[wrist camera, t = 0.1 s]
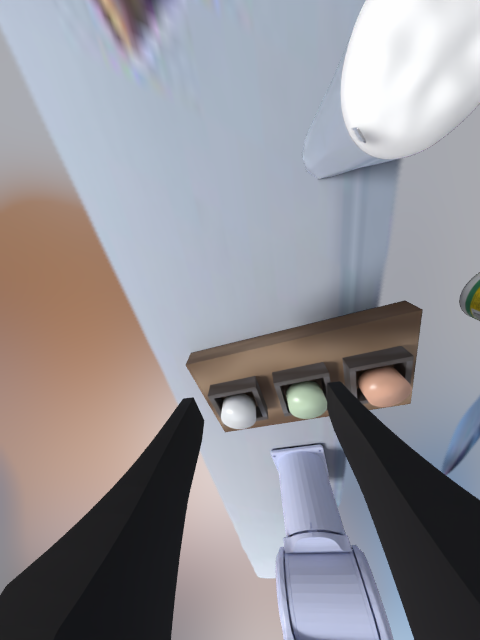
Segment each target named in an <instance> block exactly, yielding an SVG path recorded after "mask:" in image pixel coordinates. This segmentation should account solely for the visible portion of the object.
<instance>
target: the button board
mask: <svg viewBox="0 0 480 640" xmlns="http://www.w3.org/2000/svg"><path fill="white" fill-rule="evenodd" d="M421 317H422V309H420V308H418V307H416V306H414V305H413V304H411V303H409V302H407V301H401V302H397V303H393V304H389V305H385V306H381V307H377V308H373V309H369V310H365V311H360V312H356V313H352V314H348V315H344V316H340V317H336V318H332V319H328V320H324V321H320V322H316V323H312V324H308V325H303V326H299V327H295V328H291V329H287V330H283V331H279V332H275V333H271V334H267V335H263V336H259V337H255V338H251V339H247V340H242V341H238V342H234V343H230V344H226V345H222V346H218V347H214V348H210V349H206V350H202V351H198V352H194V353H191V354H190V356H189V359H188V361H187V363H186V367H187V368H188V370H189V372H190V373H191V375H192V377H193V378H194V380H195V382H196V383H197V385H198V387H199V389H200V390H201V392H202V394H203V395H204V397H205V399H206V400H207V402H208V404H209V406H210V407H211V409H212V411H213V412H214V414H215V416H216V417H217V419H218V421H219V423H220V424H221V426H222V428H223V429H224V431H225V432H230V431H236V430H243V429H234V428H230V427H228V426H226V425H225V424H224V423H223V422H222V420H221V413H222V406H223V401H224V399H225V398H226V397H227V396H230V395H235V394H240V393H241V394H246V395H248V396H250V397H251V398H253V400H254V401H255V403H256V422H255V423H254V424H253V425H252V426H251V427H249V428H256V427H262V426H269V425H275V424H282V423H288V422H295V421H301V420H308V419H301V418H298V417H295V416H294V415H292V414H291V412H290V411H289V406H288V402H287V397H286V391H287V389H288V388H289V387H290V386H291V385H292V384H294V383H298V382H303V381H313V382H316V383H317V384H319V385H320V387H321V389H322V391H323V393H324V396H325V398H326V400H327V383H329V382H338V381H340V382H342V383H343V384H344V385H345V386H346V388H347V389H348V390H349V391H350V392H351V393H352V394H353V395H354V396H355V397H356V398H357V399H358V400H359V401H360V402H361V403H362V404H363V405H364V406H365V407H366V408H367V409H368V410H373V409H379V408H386V407H377V406H374V405H372V404H370V403H369V402H368V400H367V399H366V397H365V396H364V394H363V393H362V391H361V390H360V388H359V386H358V379H359V377H360V376H361V375H362V374H363V373H364V372H365V371H367V370H368V369H371V368H376V367H381V366H391V367H393V368H395V369H396V370H397V371H398V372H399V373H400V374H401V375H402V376H403V377H404V378H405V379H406V380H407V381H408V382H409V383H410V385H411V393H410V395H409V396H408V397H407V398H406V399H405V400H404V401H402V402H400V403H398V404H396V405H393V406H399V405H405V404H410V403H411V396H412V388H413V379H414V372H415V364H416V356H417V349H418V340H419V333H420V325H421ZM389 407H392V406H389ZM327 416H329V413H328V410H326V411H325V412H324V413H323V414H322V415H320V416H318V417H315V418H321V417H327ZM311 419H314V418H311ZM249 428H246V429H249Z"/></svg>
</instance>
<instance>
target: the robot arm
mask: <svg viewBox="0 0 480 640" xmlns="http://www.w3.org/2000/svg"><path fill="white" fill-rule="evenodd" d="M327 410H328V413H329V416H330V419H331V422H332V425H333V428H334V431H335V433H336V435H337V437H338V440H339V442H340V444H341V446H342V448H343V451H344V453H345V455H346V457H347V459H348V462H349V464H350V466H351V468H352V470H353V472H354V475H355V477H356V479H357V481H358V483H359V486H360V488H361V491H362V493H363V495H364V498H365V501H366V503H367V505H368V508H369V511H370V514H371V516H372V519H373V521H374V525H375V527H376V530H377V533H378V536H379V538H380V541H381V544H382V547H383V550H384V552H385V555H386V558H387V561H388V564H389V567H390V569H391V572H392V575H393V578H394V581H395V584H396V587H397V590H398V592H399V595H400V598H401V601H402V604H403V607H404V610H405V613H406V616H407V619H408V622H409V625H410V628H411V631H412V634H413V636H414V640H480V500H479V499H477V498H476V497H475V496H473V495H472V494H470V493H469V492H467V491H466V490H465V489H463V488H462V487H461V486H459V485H458V484H456V483H455V482H454V481H452V480H451V479H450V478H449V477H447V476H446V475H445V474H443V473H442V472H441V471H439V470H438V469H437V468H435V467H434V466H433V465H432V464H430V463H429V462H428V461H427V460H425V459H424V458H423V457H422V456H420V455H419V454H418V453H417V452H415V451H414V450H413V449H412V448H411V447H409V446H408V445H407V444H406V443H405V442H403V441H402V440H401V439H400V438H399V437H398V436H397V435H395V434H394V433H393V432H392V431H391V430H390V429H389V428H387V427H386V426H385V425H384V424H383V423H382V422H381V421H380V420H379V419H377V417H376V416H375V415H373V414H372V413H371V412H370V411H369V410H368V409H367V408H366V407H365V406H364V405H363V404H362V403H361V402H360V401H359V400H358V399H357V398H356V397H355V396H354V395H353V394H352V393H351V392H350V391H349V390H348V389H347V388H346V386H345V385H344V384H343V383H342V382H340V381H338V382H329V383H327ZM203 427H204V419H203V417H202V415H201V413H200V410H199V408H198V406H197V404H196V402H195V400H194V398H185V399H183V400H182V401H181V402H180V404H179V405H178V407H177V408H176V409H175V411H174V412H173V414H172V415H171V416H170V418H169V419H168V421H167V422H166V423H165V425H164V426H163V427H162V429H161V430H160V431H159V433H158V434H157V435H156V437H155V438H154V439H153V441H152V442H151V443H150V444H149V446H148V447H147V448H146V449H145V451H144V452H143V453H142V454H141V456H140V457H139V458H138V459H137V461H136V462H135V463H134V464H133V465H132V467H131V468H130V469H129V470H128V471H127V472H126V474H124V475H123V477H122V478H121V479H120V480H119V481H118V482H117V483H116V484H115V485H114V487H113V488H112V489H111V490H110V491H109V492H108V493H107V494H106V495H105V496H104V497H103V498H102V499H101V500H100V501H99V502H98V503H97V504H96V505H95V506H94V507H93V508H92V509H91V510H90V511H89V512H88V513H87V514H86V515H85V516H84V517H83V518H82V519H81V520H80V521H79V522H78V523H77V524H76V525H74V527H72V528H71V529H70V530H69V531H68V532H67V533H66V534H65V535H64V536H63V537H62V538H60V539H59V540H58V541H57V542H56V543H55V544H54V545H53V546H52V547H51V548H50V549H48V550H47V551H46V552H45V553H44V554H43V555H41V556H40V557H39V558H38V559H37V560H36V561H35V562H33V563H32V564H31V565H30V566H29V567H28V568H26V569H25V570H24V571H23V572H22V573H21V574H19V575H18V576H17V577H16V578H15V579H14V580H13V581H11V582H10V583H9V584H8V585H7V586H6V587H5V589H4V590H3V592H2V593H1V595H0V640H171V630H172V621H173V611H174V600H175V591H176V583H177V574H178V565H179V557H180V550H181V543H182V535H183V529H184V522H185V515H186V510H187V503H188V498H189V493H190V488H191V484H192V480H193V476H194V472H195V467H196V463H197V459H198V455H199V451H200V446H201V442H202V435H203ZM271 456H272V459H273V461H274V463H275V465H276V467H277V470H278V472H279V479H280V488H281V497H282V505H283V514H284V523H285V531H286V537H284V538H283V540H284V547H280V549H279V552H278V554H277V557H276V586H277V598H278V607H279V614H280V621H281V626H282V630H283V637H284V640H393V636H392V633H391V629H390V626H389V622H388V619H387V615H386V612H385V609H384V606H383V603H382V600H381V597H380V594H379V591H378V589H377V586H376V583H375V580H374V577H373V574H372V572H371V569H370V566H369V564H368V561H367V559H366V557H365V555H364V553H363V552H362V551H361V550H360V549H359V548H358V547H357V546H356V545H352V548H351V545H350V542H349V538H348V536H347V535H346V534H345V530H344V528H343V524H342V521H341V517H340V514H339V511H338V508H337V504H336V501H335V498H334V494H333V491H332V488H331V485H330V481H329V478H328V477H329V473H328V468H327V464H326V459H325V454H324V450H323V446H322V445H320V444H319V445H311V446H303V447H295V448H287V449H280V450H272V451H271Z"/></svg>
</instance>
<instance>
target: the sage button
mask: <svg viewBox="0 0 480 640" xmlns="http://www.w3.org/2000/svg"><path fill="white" fill-rule="evenodd" d="M286 397H287V402H288V406H289V411H290V412H291V414H292V415H294V416H295V417H298V418H301V419H311V418H315V417H318V416H320V415H322V414H323V413H324V412H325V411H326V410H327V400H326V398H325V396H324V393H323V391H322V389H321V387H320V385H319V384H317V383H316V382H313V381H303V382H298V383H294V384H292V385H291V386H290V387H289V388H288V389H287V391H286Z"/></svg>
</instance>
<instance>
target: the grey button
mask: <svg viewBox="0 0 480 640" xmlns="http://www.w3.org/2000/svg"><path fill="white" fill-rule="evenodd" d="M221 420H222V422H223V423H224V424H225V425H226V426H228V427H230V428H234V429H246V428H249V427H251V426H252V425H253V424H254V423H255V422H256V403H255V401H254V400H253V398H251V397H250V396H248V395H246V394H241V393H240V394H235V395H230V396H227V397H226V398H225V399H224V401H223V406H222V413H221Z"/></svg>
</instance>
